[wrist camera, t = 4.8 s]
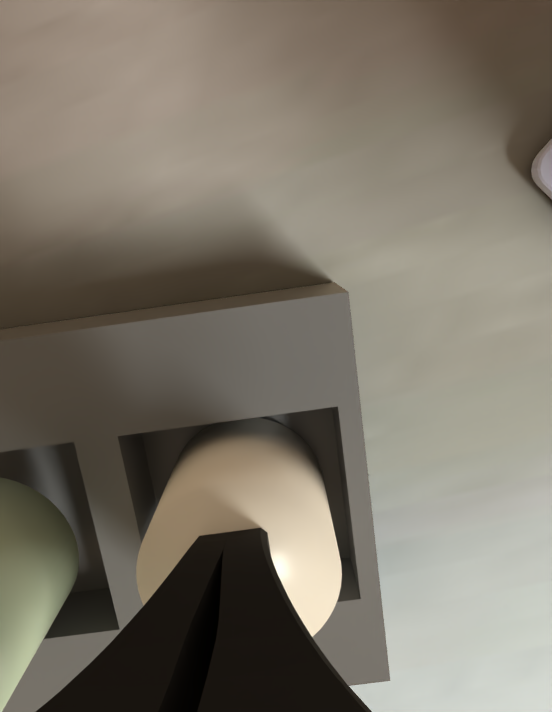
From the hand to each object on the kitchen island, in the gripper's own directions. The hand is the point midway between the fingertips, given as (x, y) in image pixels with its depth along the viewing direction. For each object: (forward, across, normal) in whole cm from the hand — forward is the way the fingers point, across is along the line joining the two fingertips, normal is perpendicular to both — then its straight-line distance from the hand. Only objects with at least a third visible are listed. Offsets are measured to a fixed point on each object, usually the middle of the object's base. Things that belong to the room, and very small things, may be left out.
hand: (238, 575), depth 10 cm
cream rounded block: (+4, 0, 0) cm, 4 cm away
